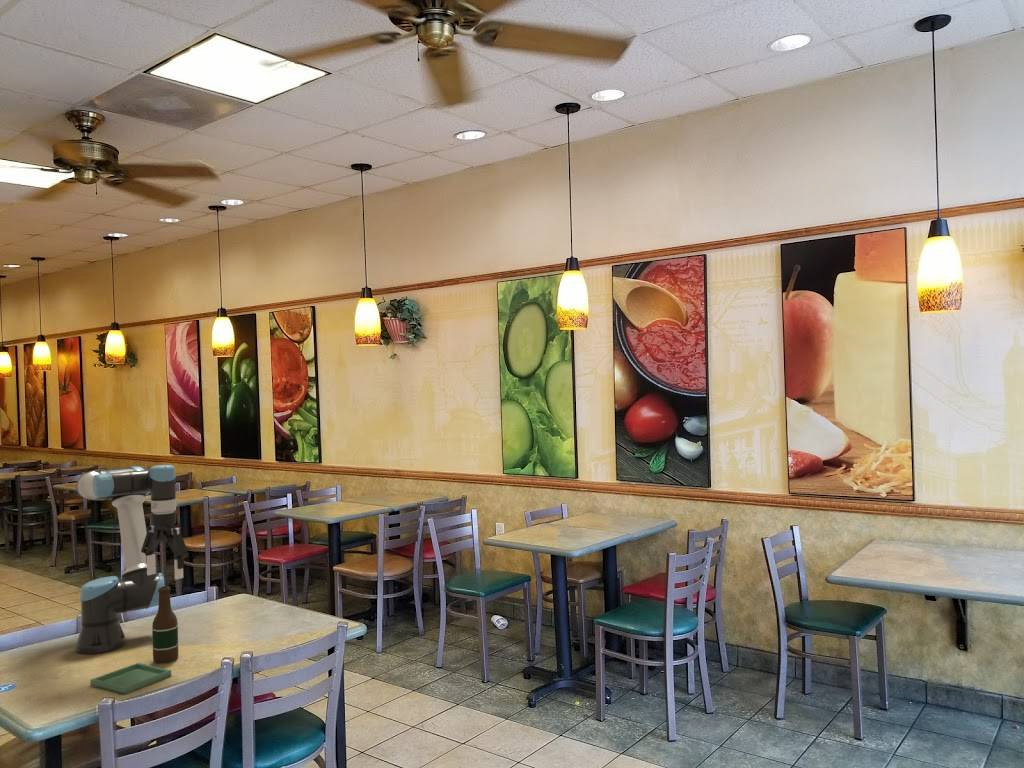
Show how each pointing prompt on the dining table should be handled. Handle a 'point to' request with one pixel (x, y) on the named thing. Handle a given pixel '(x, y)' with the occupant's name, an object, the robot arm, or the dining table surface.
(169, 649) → the beer bottle
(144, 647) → the dining table surface
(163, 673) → the tray
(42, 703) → the dining table surface
